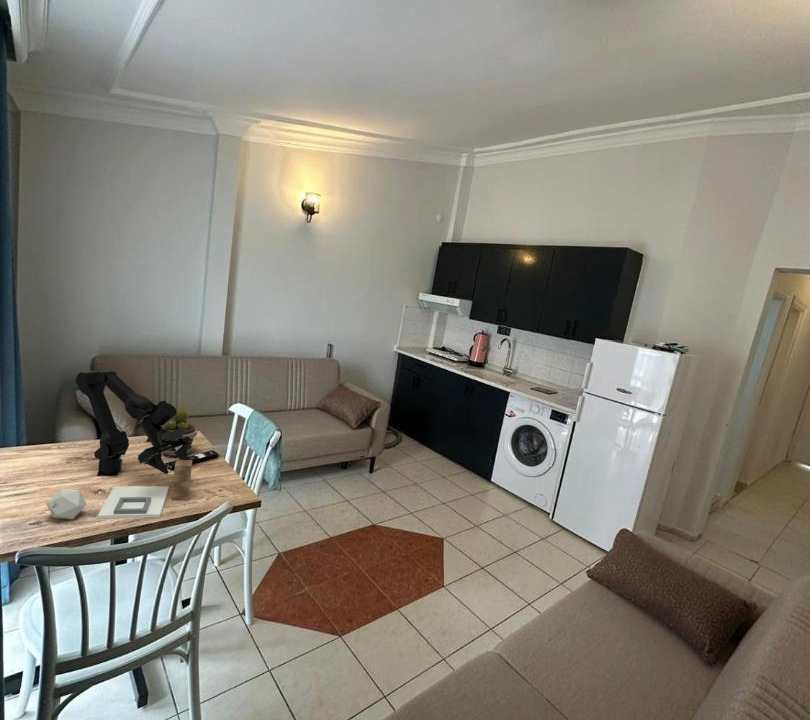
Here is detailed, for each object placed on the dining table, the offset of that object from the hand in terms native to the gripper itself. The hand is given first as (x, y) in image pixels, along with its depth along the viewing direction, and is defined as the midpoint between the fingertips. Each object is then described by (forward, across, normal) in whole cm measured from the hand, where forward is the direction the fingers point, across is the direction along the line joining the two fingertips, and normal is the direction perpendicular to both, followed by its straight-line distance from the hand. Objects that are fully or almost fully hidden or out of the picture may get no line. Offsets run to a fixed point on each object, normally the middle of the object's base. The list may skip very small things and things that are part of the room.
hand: (178, 469), depth 159 cm
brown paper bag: (+8, 0, +5) cm, 10 cm away
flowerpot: (-12, +28, +26) cm, 40 cm away
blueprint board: (+3, -11, +11) cm, 16 cm away
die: (-3, -28, +17) cm, 33 cm away
